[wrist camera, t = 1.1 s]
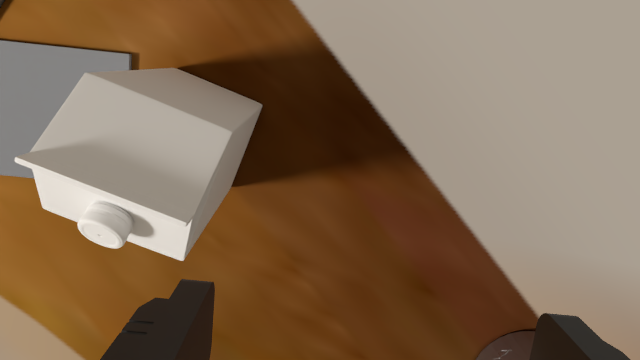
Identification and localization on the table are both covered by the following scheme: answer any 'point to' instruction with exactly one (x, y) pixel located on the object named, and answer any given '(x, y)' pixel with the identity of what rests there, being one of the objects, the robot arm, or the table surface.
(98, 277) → the table surface
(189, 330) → the robot arm
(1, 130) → the mat
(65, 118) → the milk carton
